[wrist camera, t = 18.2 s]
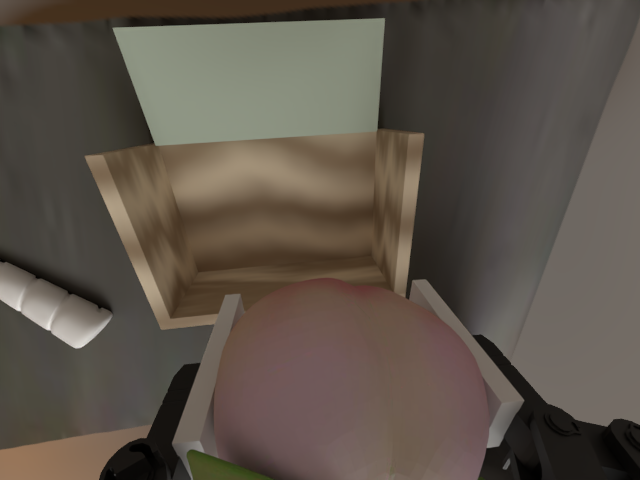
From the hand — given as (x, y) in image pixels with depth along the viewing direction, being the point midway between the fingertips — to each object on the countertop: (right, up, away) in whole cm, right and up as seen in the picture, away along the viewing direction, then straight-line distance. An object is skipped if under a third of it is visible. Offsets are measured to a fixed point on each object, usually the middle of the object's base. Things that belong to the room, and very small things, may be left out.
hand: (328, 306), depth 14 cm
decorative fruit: (0, 0, 0) cm, 0 cm away
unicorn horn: (-37, 0, +17) cm, 40 cm away
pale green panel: (-5, +14, +11) cm, 19 cm away
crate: (-5, +7, +16) cm, 18 cm away
